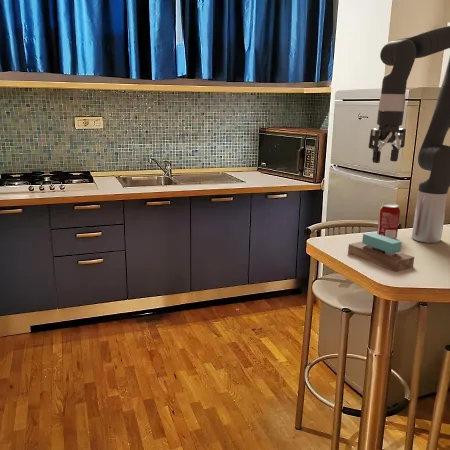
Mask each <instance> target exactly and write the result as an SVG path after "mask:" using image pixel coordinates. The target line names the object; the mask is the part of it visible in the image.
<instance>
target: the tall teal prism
mask: <svg viewBox="0 0 450 450" xmlns="http://www.w3.org/2000/svg"><path fill="white" fill-rule="evenodd" d="M361 241H362V243H363V244H366V245H367V248H369V249H376V248H377V249H380V250H383V251H385V254H386V255H389V256H394V255H395V253H396V252H401V249H402V241H400V240H397V239H396V238H395V239H391V238H388V237H385V236H382V235H379V234H377V232H376V233H375V232H366V233H363V234H362V240H361Z"/></svg>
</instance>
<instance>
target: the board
mask: <svg viewBox="0 0 450 450" xmlns="http://www.w3.org/2000/svg"><path fill="white" fill-rule="evenodd" d="M347 254H349V255H352V256H354V257H357V258H359V259H363V260H364V261H367V262H371V263H373V264H375V265H378V266H380V267H382V268H386V269H388V270H391V271H393V272H398V271H403V270H405V269H410V268H413V267H414V264H415V256H413V255H410V254H407V253H404V252H401V251H400V252H396V253H395V255H394V256H389V255H386V254H385V251H383V250H380V249H377V248H376V249H369V248H367V245H366V244H363V243H362V240H361V241H358V242H357V241H356V242H354V243H349V244H348V248H347Z"/></svg>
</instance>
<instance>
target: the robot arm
mask: <svg viewBox="0 0 450 450" xmlns="http://www.w3.org/2000/svg"><path fill="white" fill-rule="evenodd" d="M448 49H450V25H448V26H447V25H446V26H443V27H442V26H441V27H438V28H433V29H430V30H426V31H424V32H423V31H422V32H420V33H417V34H416V35H413V36H409V37H404V38H399V39H395V40H392V41H389V42H387V43H385V44H384V45H383V47H382V48H381V50H380V53H379V58H380V60H381V62H382V63H383V64H384V65H386V66H389V67H392V68H391V71H390V73H387V74H385V75H384V76H383V78H382V83H381V90H380V92H381V93H380V99H379V103H378V109H377V120H376V125H378V128H371V129H370V135H369V141H368V149H371V150H372V159H371V160H372V163H374V164H379V163H380V162H381V156H382V155H381V152H382V151H381V150H382V148H383V147H384V146H386V144H389V145H390V146H391V149H390V150H391V151H390V152H391V153H390V161H391V162H397V161H398V159H399V154H400V153H399V152H400V150H401V148H404V147H405V143H406V142H405V141H406V133H407V129H406V128H400V126H402V125H403V124H404V123H403V121H404V115H405V105H406V90H407V84H408V83H407V82H408V80H409V76H410V74H411V71H412V69H413V67H414V63H415V60H416V59H422V58H425V57H427V56H432V55H434V54H437V53H440V52H442V51H445V50H448ZM449 129H450V56H449V57H448V62H447V65H446V68H445V73H444V77H443V80H442V82H441V86H440V89H439V92H438V96H437V99H436V104H435V108H434V110H433V113H432V116H431V120H430V124H429V126H428V129H427V131H426V133H425V136H424V138H423V141H422V143H421V146H420V149H419V152H418V156H417V162H418V163H417V164H418V166H419V167H420V168H421V169H422V170H424V171H429V172H430V173H429V178H428V179H426V180H423V181H421V182H419V184H418V191H417V197H416V205H415V209H414V210H415V212H414V219H413V226H412V231H411V238H412V240H414V241H417V242H421V243H427V244H437V243H440V241H441V240H442V236H443V235H442V234H443V229H444V223H445V218H446V214H445V212H446V204H447V197H448V192H449V189H450V145H446V144H444V142H445V138H446V136H447V133H448V131H449Z"/></svg>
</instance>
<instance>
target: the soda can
mask: <svg viewBox="0 0 450 450" xmlns="http://www.w3.org/2000/svg"><path fill="white" fill-rule="evenodd" d="M378 213H379V214H378V220H377V221H378V223H377V230H376V234H379V235H382V236H385V237H388V238H391V239H395V240H396V239H397V237H398V231H399V224H400V223H399V222H400V217H401V216H400V215H401V210H400V205H398V204H395V203H389V202H385V203H382V205H381V207H380V208H379V212H378Z"/></svg>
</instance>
